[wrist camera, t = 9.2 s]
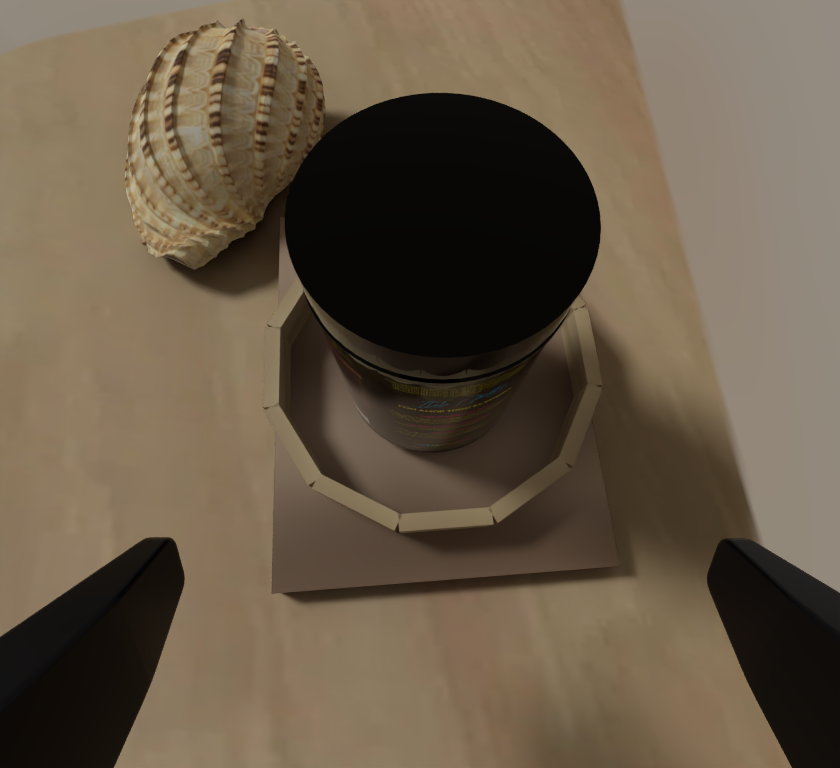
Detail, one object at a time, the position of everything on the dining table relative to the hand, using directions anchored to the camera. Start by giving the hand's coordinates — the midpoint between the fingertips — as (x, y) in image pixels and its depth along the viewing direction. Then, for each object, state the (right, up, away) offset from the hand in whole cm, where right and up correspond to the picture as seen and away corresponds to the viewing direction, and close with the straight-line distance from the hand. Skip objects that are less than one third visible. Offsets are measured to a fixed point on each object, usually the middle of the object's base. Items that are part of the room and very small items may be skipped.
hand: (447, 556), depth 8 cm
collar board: (0, +3, +10) cm, 11 cm away
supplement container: (0, +3, +10) cm, 10 cm away
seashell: (-8, +12, +13) cm, 20 cm away
